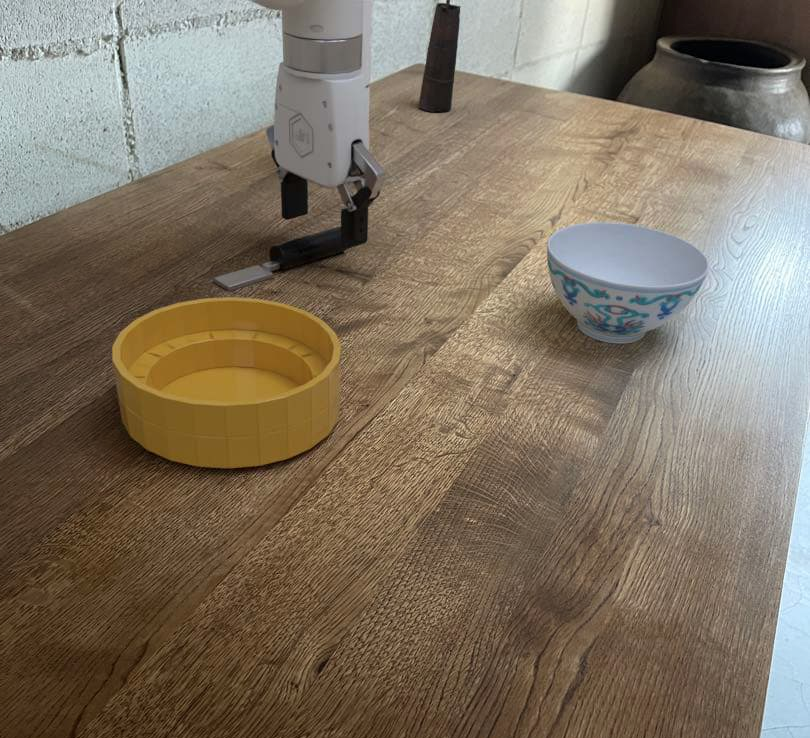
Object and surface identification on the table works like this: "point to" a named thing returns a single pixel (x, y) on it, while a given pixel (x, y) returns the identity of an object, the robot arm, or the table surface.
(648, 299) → the chinaware
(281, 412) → the bowl
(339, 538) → the table surface
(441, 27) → the butter churn
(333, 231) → the putty knife
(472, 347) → the table surface
